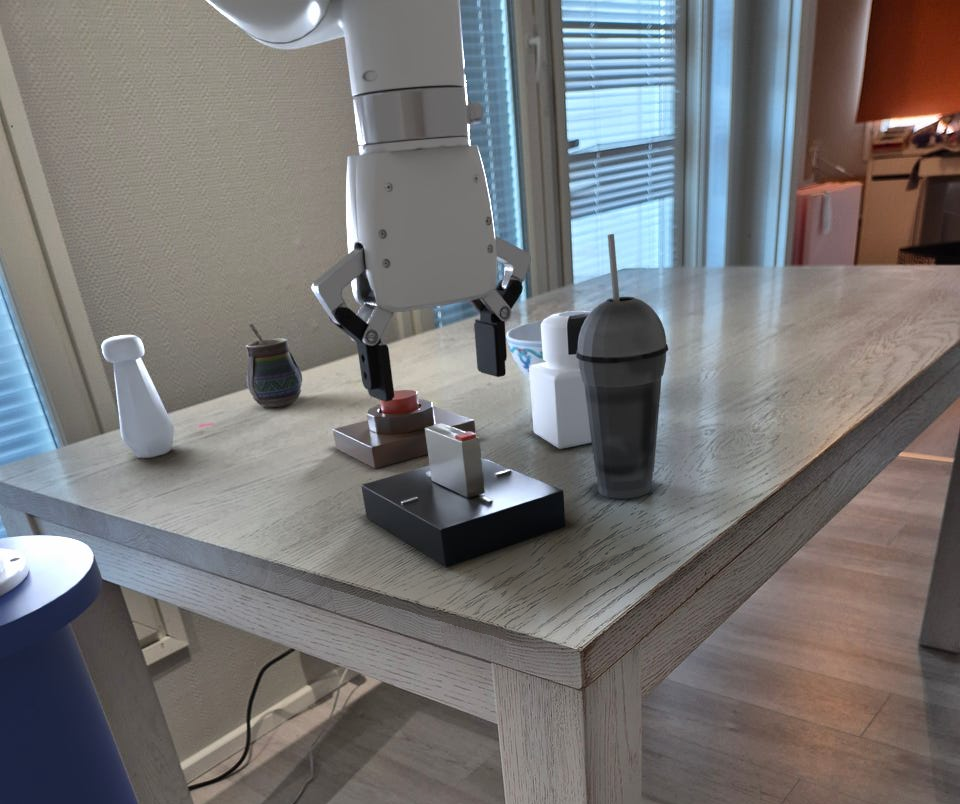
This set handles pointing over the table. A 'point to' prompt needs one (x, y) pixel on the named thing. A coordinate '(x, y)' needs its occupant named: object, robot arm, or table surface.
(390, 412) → the button
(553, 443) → the medicine bottle
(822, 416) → the table surface
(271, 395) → the mate gourd
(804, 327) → the table surface
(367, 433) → the button box
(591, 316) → the beverage cup
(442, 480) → the brushed metal brick
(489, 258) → the robot arm
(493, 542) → the panel
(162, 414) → the salt shaker
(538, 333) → the chinaware
